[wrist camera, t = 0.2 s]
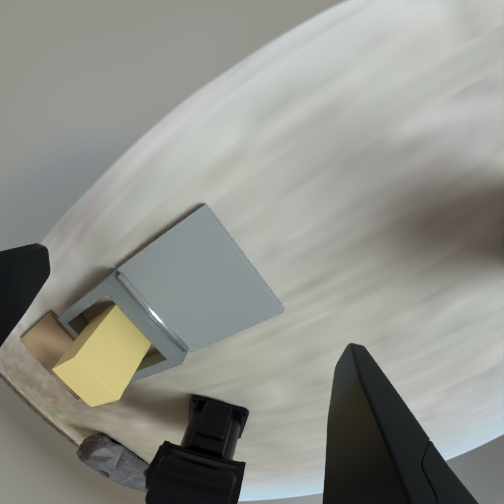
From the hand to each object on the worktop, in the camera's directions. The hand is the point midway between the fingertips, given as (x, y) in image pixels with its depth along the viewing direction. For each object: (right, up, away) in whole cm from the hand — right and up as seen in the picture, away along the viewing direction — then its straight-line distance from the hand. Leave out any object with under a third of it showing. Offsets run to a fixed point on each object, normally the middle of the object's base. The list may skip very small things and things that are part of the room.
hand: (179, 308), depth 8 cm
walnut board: (-22, -12, +27) cm, 37 cm away
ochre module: (-11, -6, +22) cm, 25 cm away
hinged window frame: (-7, -4, +20) cm, 21 cm away
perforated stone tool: (-20, -33, +37) cm, 53 cm away
